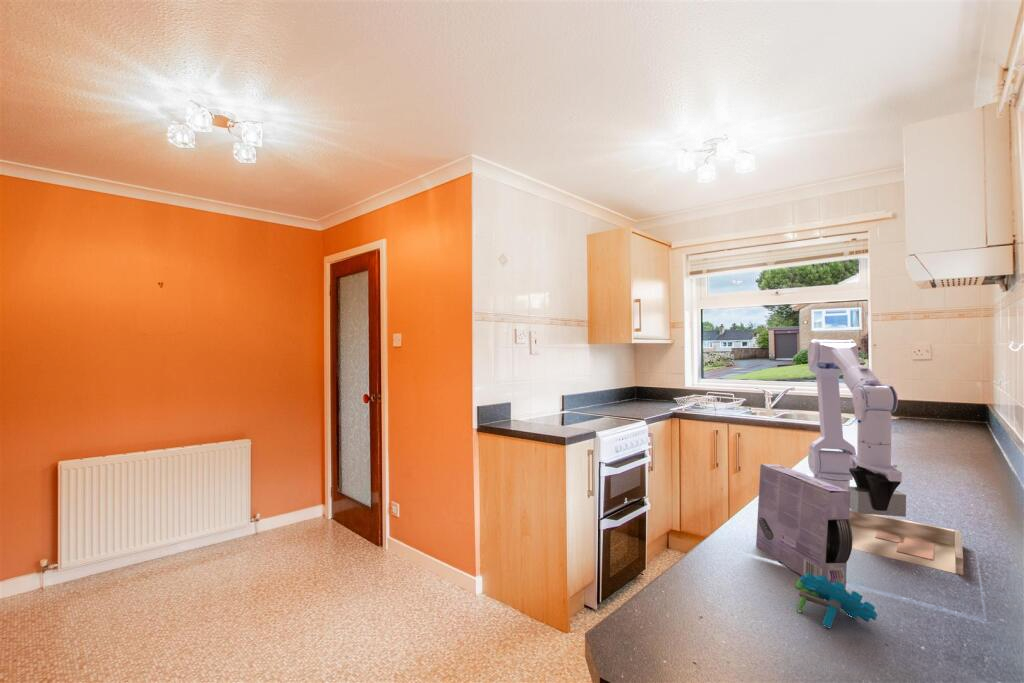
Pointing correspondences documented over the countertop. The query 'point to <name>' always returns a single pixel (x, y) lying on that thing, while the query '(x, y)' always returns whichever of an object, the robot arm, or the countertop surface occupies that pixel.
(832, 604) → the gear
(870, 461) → the robot arm
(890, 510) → the bracket
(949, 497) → the countertop surface
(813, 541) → the cake pan box
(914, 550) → the board
